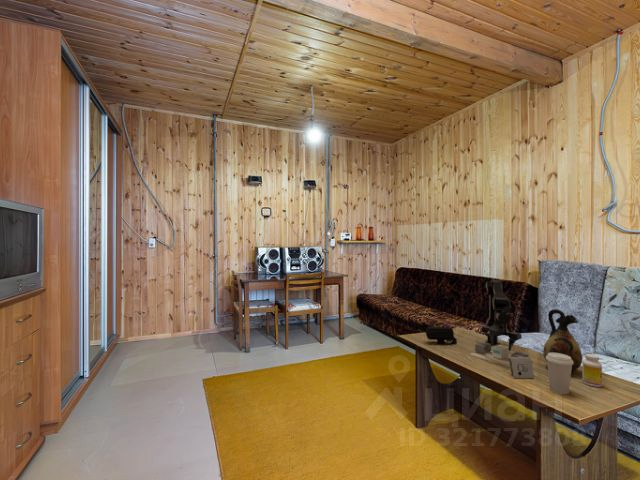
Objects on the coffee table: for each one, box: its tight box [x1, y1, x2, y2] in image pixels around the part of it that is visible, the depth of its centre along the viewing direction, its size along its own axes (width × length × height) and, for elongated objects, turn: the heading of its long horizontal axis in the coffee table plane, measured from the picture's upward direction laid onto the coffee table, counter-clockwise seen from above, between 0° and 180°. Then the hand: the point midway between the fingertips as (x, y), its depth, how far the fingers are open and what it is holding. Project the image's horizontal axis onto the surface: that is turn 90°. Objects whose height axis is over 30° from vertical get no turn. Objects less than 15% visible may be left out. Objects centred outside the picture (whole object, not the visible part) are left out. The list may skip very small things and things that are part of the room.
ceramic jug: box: [542, 308, 583, 375], centre depth 155 cm, size 17×15×30 cm
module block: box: [491, 344, 510, 359], centre depth 169 cm, size 8×5×5 cm, turn 122°
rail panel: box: [469, 341, 533, 369], centre depth 169 cm, size 18×24×6 cm
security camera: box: [425, 326, 458, 345], centre depth 194 cm, size 7×18×10 cm, turn 89°
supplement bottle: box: [581, 353, 603, 388], centre depth 140 cm, size 7×7×13 cm
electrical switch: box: [509, 356, 535, 379], centre depth 148 cm, size 9×5×9 cm, turn 90°
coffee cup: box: [546, 353, 574, 395], centre depth 133 cm, size 10×10×15 cm
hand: (500, 348), depth 169 cm, fingers open, 9 cm apart
